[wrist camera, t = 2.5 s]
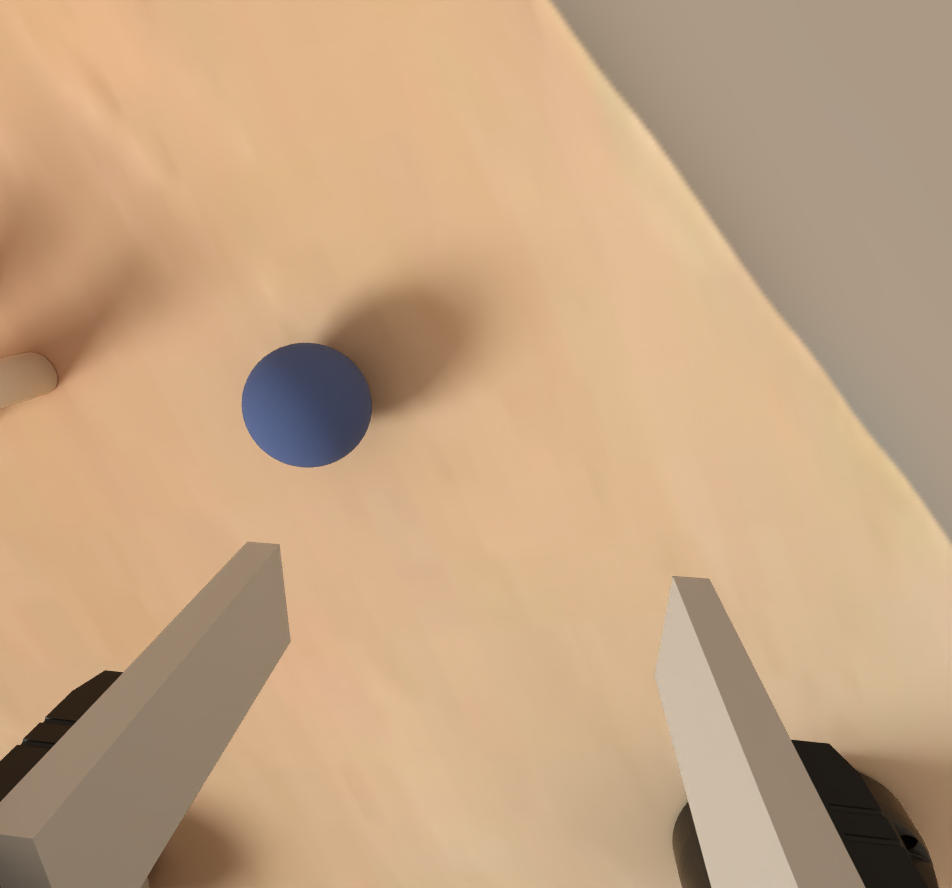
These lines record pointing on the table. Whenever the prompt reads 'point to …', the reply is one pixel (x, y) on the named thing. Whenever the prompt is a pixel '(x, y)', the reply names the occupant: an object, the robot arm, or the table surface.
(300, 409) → the ball
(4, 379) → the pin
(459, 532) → the table surface
